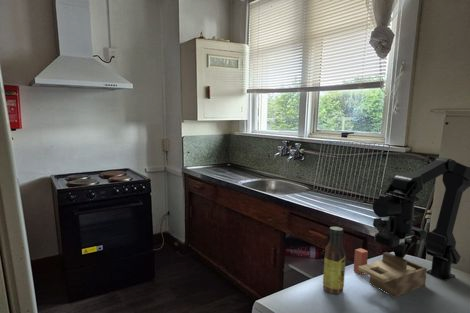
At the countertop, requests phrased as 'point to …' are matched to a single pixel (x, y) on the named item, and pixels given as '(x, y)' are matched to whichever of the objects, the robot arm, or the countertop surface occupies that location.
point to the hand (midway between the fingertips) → (398, 261)
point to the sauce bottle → (334, 262)
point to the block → (360, 259)
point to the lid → (387, 268)
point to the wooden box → (402, 281)
